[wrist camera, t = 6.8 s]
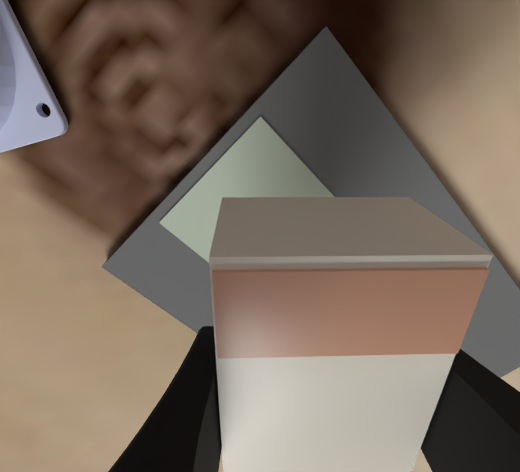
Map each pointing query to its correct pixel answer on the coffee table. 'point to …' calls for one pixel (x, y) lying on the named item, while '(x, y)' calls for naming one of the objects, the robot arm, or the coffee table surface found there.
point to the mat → (305, 192)
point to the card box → (335, 329)
